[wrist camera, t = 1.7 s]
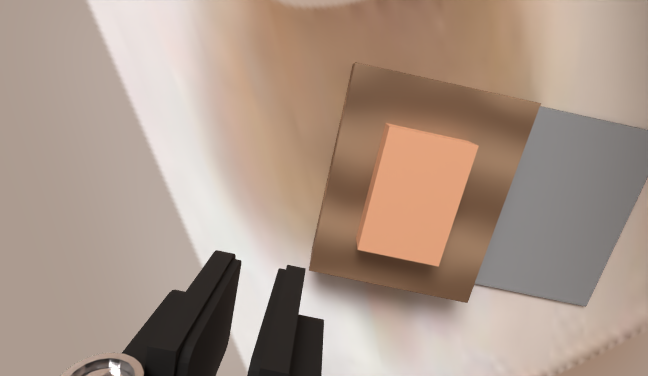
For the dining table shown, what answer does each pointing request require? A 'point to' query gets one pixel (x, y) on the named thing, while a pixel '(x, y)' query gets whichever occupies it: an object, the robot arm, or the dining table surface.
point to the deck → (434, 117)
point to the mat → (566, 206)
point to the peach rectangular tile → (414, 194)
